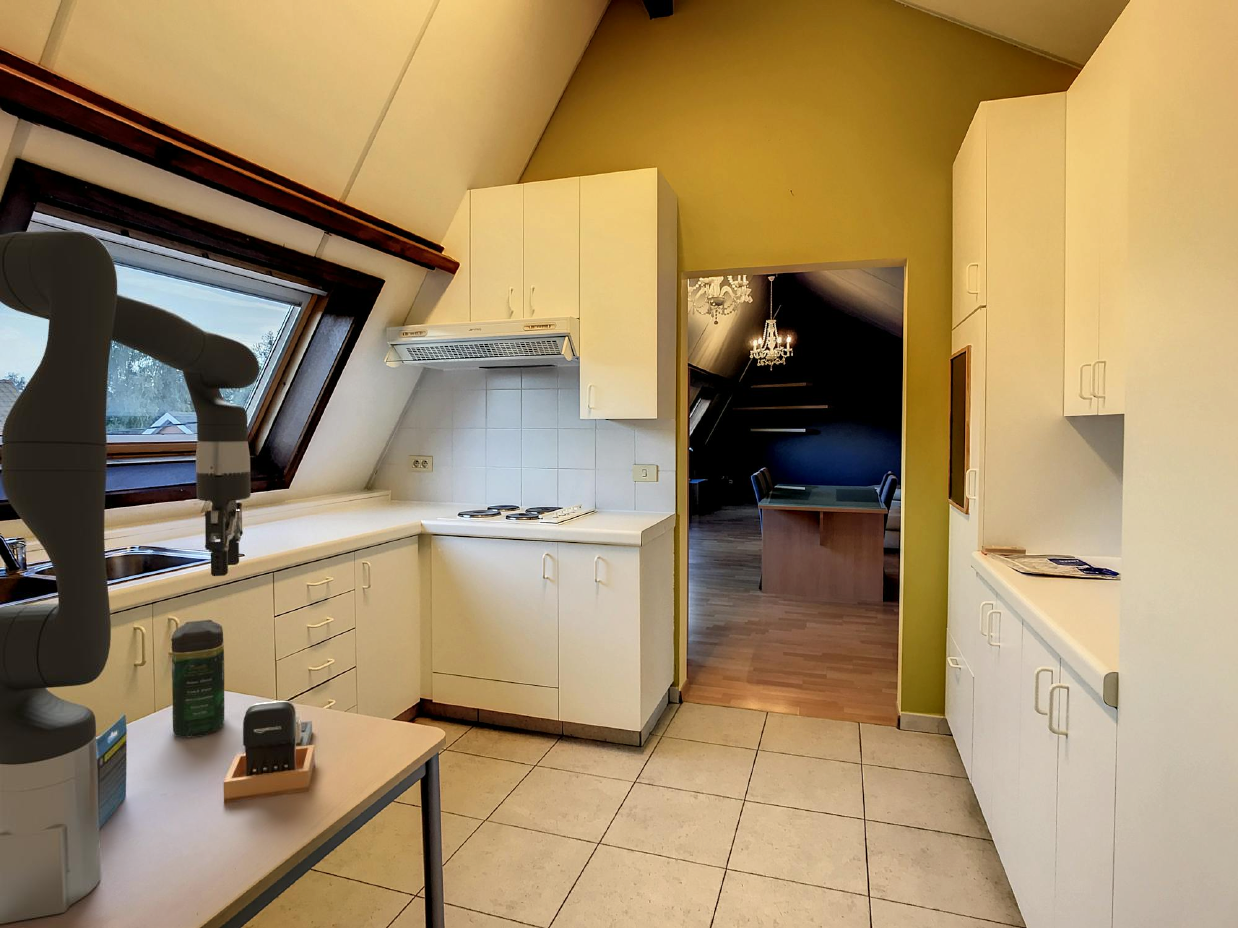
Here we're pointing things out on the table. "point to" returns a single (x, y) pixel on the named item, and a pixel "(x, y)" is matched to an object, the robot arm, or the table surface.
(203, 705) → the coffee jar
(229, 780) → the tray
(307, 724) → the panel
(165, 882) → the table surface
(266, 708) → the battery charger
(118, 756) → the label tape box
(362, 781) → the table surface
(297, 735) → the block
